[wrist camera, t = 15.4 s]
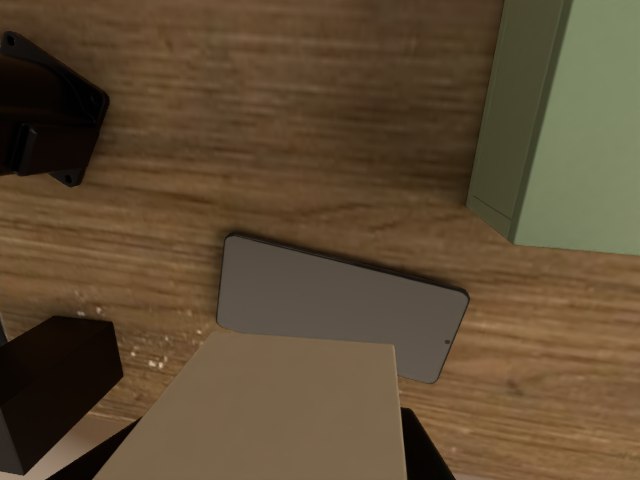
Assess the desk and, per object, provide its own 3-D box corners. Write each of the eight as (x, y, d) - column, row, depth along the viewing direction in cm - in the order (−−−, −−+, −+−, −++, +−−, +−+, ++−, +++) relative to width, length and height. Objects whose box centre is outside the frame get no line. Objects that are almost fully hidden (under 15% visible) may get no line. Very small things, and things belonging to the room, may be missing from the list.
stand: (67, 369, 27) (-51, 462, 19) (53, 315, 25) (-82, 394, 18) (123, 376, 26) (24, 476, 19) (112, 322, 24) (-2, 407, 17)
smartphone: (223, 232, 20) (474, 294, 18) (229, 227, 21) (470, 287, 19) (213, 327, 22) (435, 388, 21) (219, 320, 23) (433, 378, 22)
